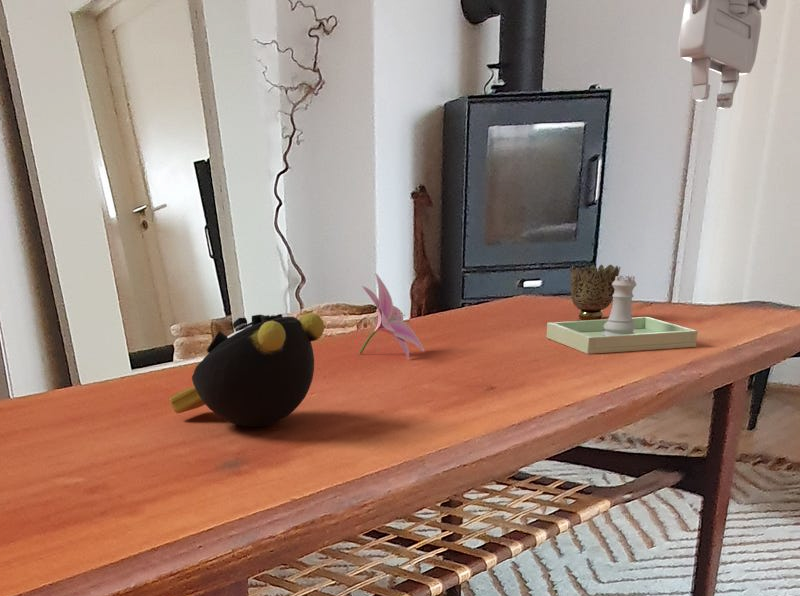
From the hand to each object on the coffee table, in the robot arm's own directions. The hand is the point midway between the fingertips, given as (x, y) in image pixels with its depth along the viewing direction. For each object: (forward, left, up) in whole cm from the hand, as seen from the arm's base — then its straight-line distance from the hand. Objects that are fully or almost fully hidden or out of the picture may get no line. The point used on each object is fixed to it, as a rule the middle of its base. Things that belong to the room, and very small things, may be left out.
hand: (712, 104), depth 134 cm
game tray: (+11, +17, -29) cm, 36 cm away
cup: (+13, -3, -30) cm, 33 cm away
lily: (+42, +27, -30) cm, 58 cm away
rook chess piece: (+12, +17, -29) cm, 35 cm away
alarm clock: (+53, +65, -30) cm, 89 cm away
